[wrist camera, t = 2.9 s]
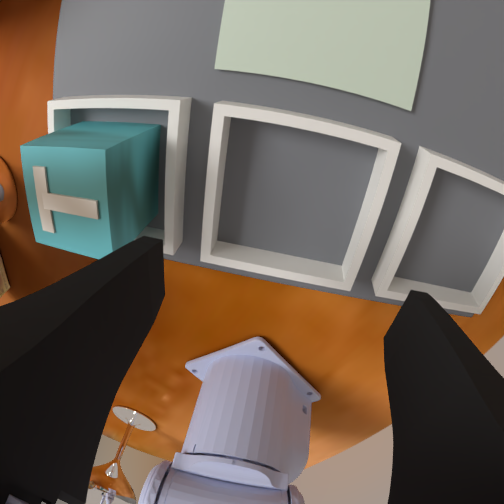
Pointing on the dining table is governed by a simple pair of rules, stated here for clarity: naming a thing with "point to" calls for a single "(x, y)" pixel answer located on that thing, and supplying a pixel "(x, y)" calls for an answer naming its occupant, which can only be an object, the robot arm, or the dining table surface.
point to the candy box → (3, 279)
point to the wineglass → (117, 465)
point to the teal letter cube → (92, 185)
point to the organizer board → (309, 135)
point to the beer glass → (7, 193)
